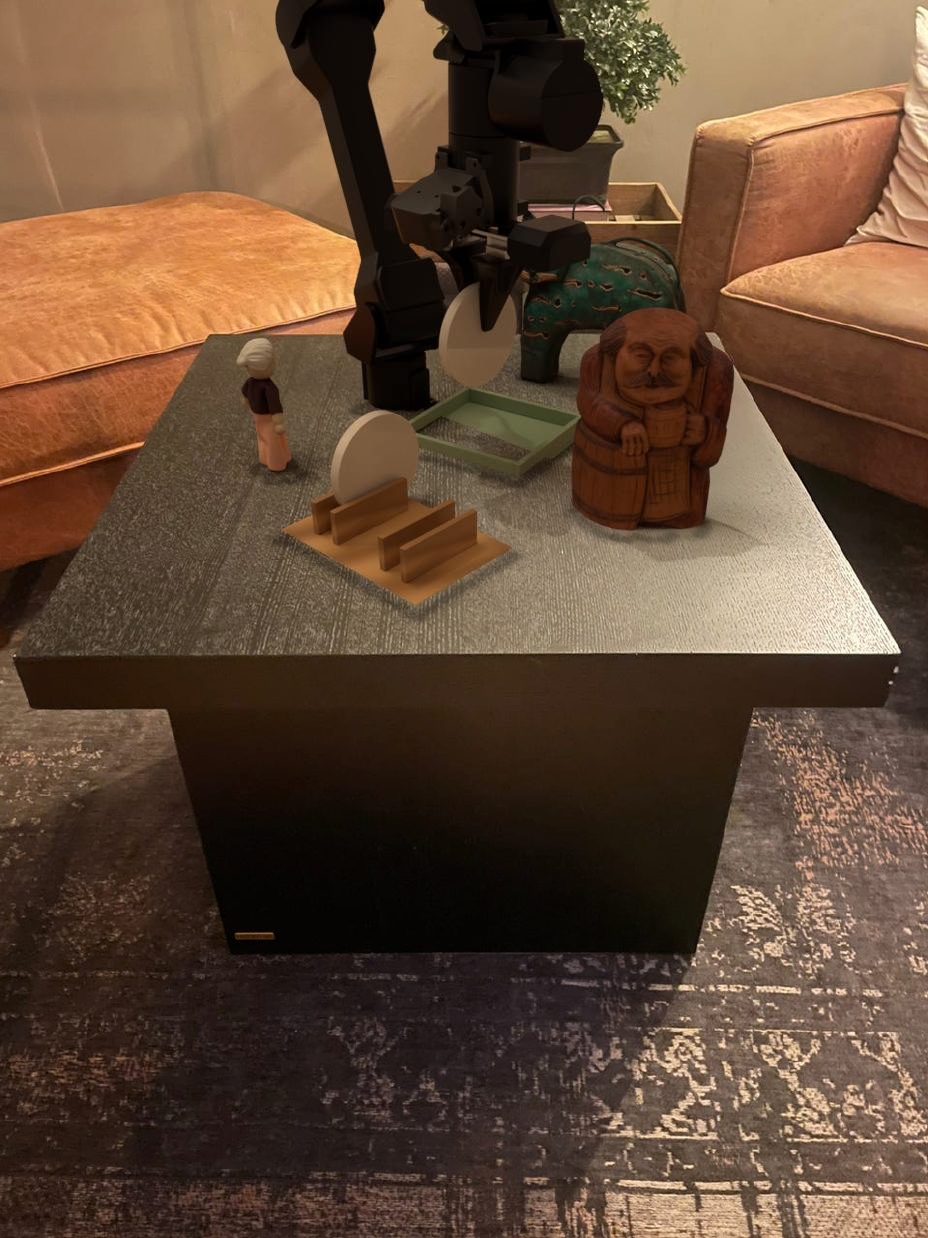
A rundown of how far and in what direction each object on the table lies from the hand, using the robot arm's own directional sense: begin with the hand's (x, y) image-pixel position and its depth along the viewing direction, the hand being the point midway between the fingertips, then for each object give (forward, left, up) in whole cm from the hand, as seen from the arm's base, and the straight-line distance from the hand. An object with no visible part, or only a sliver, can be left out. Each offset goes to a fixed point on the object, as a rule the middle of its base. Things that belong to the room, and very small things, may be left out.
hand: (481, 328), depth 81 cm
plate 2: (0, 0, -5) cm, 5 cm away
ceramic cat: (+1, +22, -13) cm, 26 cm away
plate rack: (+3, -17, -13) cm, 22 cm away
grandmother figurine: (-15, -12, -13) cm, 24 cm away
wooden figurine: (+18, -2, -13) cm, 22 cm away
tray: (-1, +4, -13) cm, 13 cm away
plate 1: (-1, -17, -11) cm, 20 cm away
